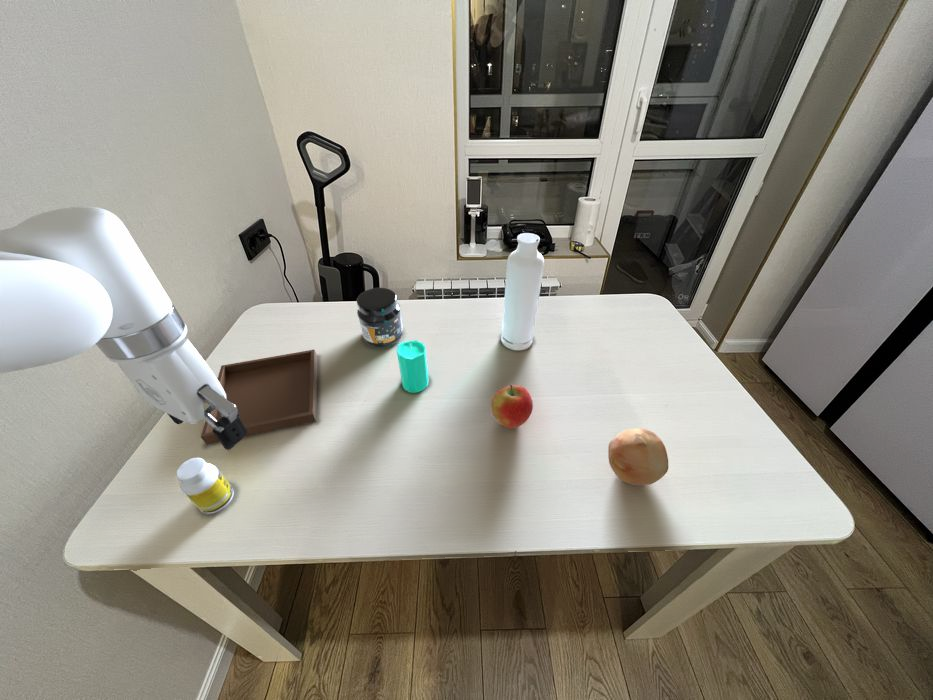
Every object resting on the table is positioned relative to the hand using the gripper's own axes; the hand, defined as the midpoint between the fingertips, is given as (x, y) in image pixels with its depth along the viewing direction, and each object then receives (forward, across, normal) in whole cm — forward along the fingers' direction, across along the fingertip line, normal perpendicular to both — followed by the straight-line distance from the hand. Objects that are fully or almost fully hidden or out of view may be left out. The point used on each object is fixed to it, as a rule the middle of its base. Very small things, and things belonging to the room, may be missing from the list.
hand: (211, 428), depth 52 cm
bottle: (+20, +25, +60) cm, 68 cm away
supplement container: (+20, -7, +46) cm, 51 cm away
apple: (+21, +32, +34) cm, 52 cm away
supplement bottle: (+21, -8, -3) cm, 22 cm away
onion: (+21, +56, +33) cm, 68 cm away
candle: (+21, +9, +35) cm, 42 cm away
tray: (+20, -18, +18) cm, 33 cm away
